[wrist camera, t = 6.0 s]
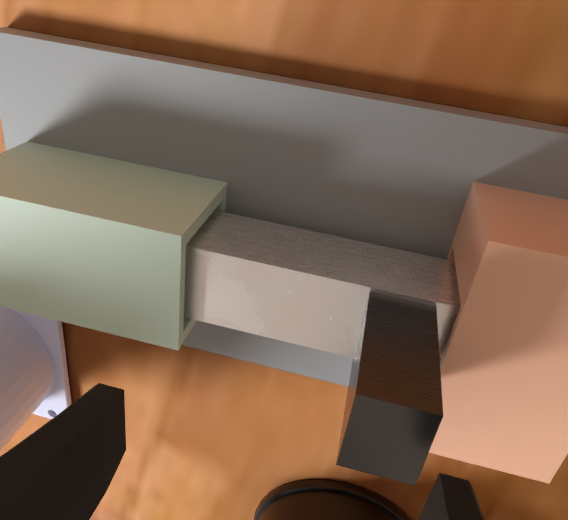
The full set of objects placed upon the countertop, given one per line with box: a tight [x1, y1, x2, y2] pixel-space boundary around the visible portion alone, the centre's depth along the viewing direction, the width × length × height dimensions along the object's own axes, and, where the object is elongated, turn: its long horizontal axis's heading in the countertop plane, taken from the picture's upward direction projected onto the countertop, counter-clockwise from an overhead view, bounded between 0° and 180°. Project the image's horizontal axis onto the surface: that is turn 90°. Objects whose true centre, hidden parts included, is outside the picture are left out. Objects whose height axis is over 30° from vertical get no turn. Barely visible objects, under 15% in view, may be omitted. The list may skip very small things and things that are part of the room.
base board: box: [0, 27, 568, 387], centre depth 20 cm, size 22×12×1 cm, turn 83°
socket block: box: [429, 181, 568, 484], centre depth 17 cm, size 4×8×4 cm, turn 173°
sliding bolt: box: [184, 210, 461, 486], centre depth 16 cm, size 14×3×7 cm, turn 83°
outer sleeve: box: [0, 141, 227, 351], centre depth 19 cm, size 8×4×4 cm, turn 83°
